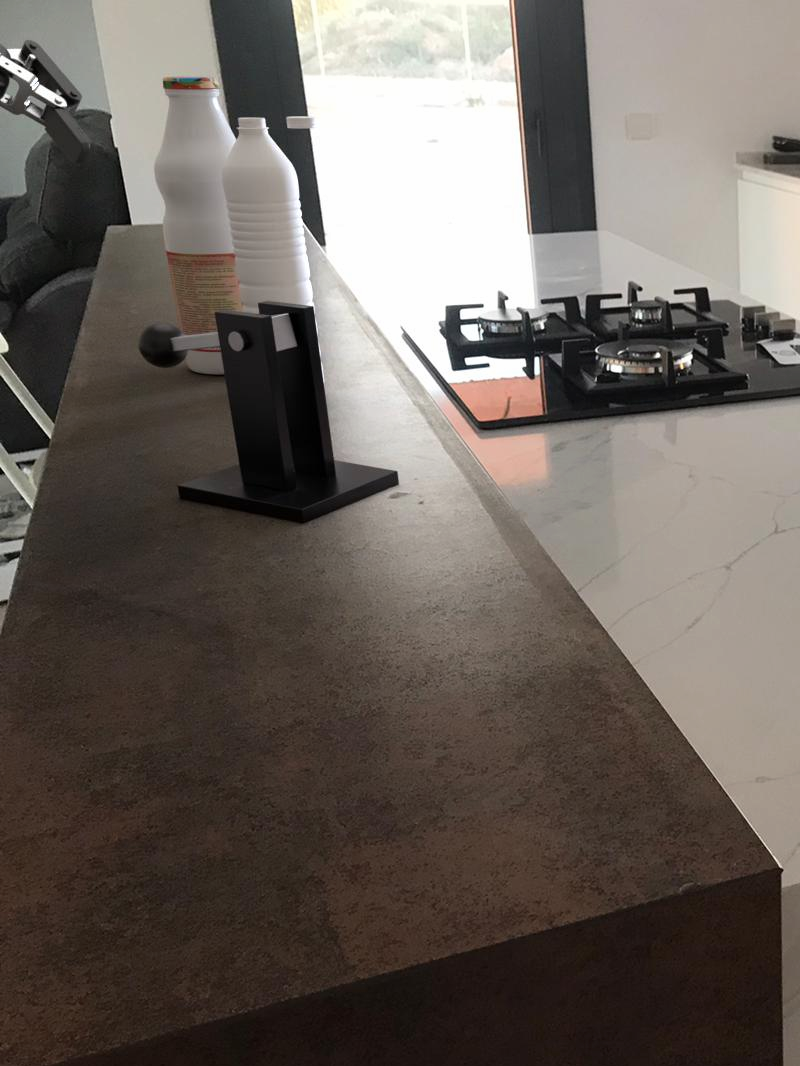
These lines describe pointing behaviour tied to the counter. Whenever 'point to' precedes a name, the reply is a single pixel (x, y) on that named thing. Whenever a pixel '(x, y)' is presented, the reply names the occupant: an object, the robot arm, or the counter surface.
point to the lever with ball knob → (197, 341)
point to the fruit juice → (197, 211)
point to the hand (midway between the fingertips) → (31, 159)
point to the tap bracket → (280, 425)
